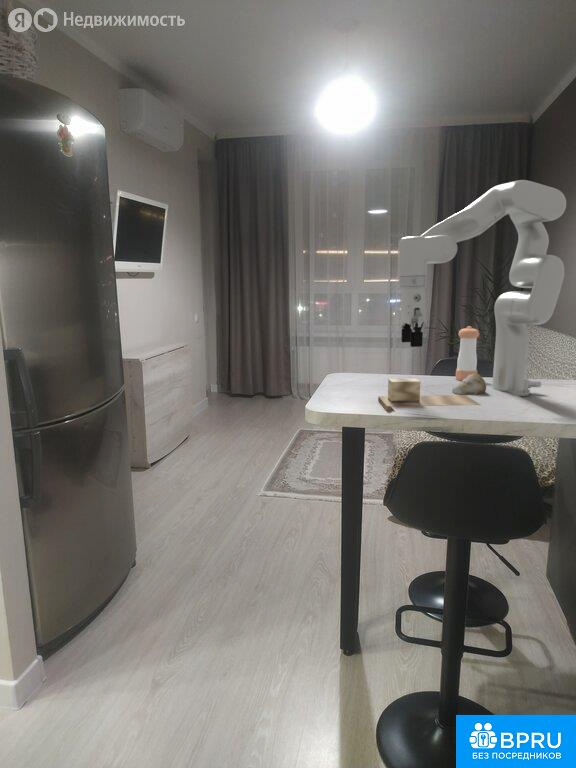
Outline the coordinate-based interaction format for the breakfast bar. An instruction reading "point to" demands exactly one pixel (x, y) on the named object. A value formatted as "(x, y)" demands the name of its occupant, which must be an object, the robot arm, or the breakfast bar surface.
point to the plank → (430, 401)
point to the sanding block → (403, 390)
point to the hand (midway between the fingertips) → (411, 344)
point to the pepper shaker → (467, 353)
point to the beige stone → (470, 385)
